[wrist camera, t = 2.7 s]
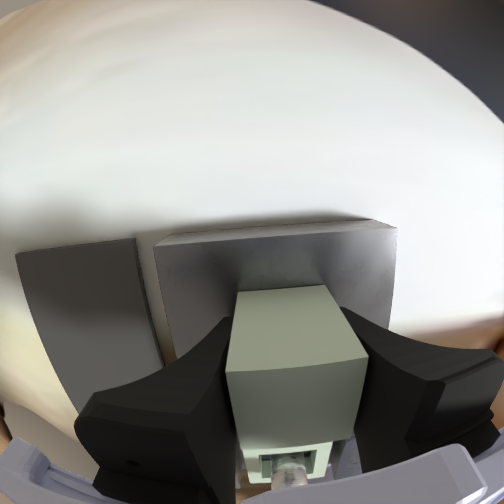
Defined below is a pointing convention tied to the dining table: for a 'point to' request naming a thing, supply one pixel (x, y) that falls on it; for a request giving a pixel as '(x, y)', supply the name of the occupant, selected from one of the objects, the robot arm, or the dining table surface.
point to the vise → (277, 277)
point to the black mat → (91, 315)
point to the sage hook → (292, 376)
